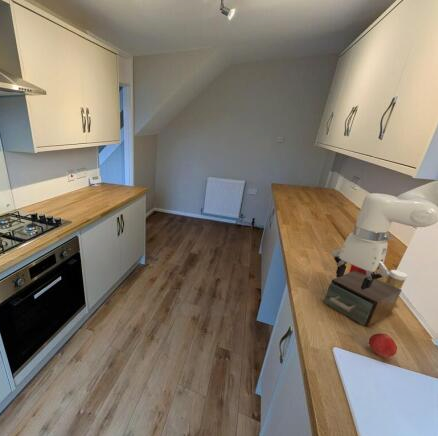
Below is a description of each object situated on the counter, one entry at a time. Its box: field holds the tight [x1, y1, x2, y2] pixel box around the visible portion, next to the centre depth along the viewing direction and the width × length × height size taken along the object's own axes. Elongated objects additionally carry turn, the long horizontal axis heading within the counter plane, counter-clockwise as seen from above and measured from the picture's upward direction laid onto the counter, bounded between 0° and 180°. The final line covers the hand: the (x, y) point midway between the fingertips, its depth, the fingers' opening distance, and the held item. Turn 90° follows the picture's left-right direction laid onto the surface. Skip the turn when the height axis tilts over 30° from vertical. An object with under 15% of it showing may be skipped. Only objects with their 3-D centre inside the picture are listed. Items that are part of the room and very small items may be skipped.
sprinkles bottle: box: [385, 269, 408, 290], centre depth 90 cm, size 5×5×14 cm
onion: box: [368, 333, 398, 358], centre depth 69 cm, size 6×6×8 cm
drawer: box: [323, 282, 374, 326], centre depth 85 cm, size 19×13×8 cm, turn 115°
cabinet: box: [330, 270, 402, 328], centre depth 87 cm, size 16×14×10 cm
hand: (351, 281), depth 80 cm, fingers open, 6 cm apart
